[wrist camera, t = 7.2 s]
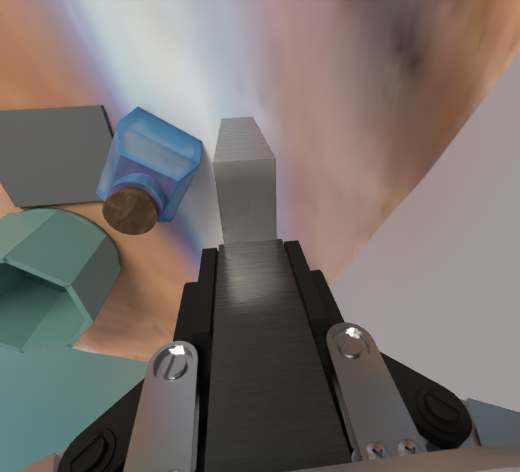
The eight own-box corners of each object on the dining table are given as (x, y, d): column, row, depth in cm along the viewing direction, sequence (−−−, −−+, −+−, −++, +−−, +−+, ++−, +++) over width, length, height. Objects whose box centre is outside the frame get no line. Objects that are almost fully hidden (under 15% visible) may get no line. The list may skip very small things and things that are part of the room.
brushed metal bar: (255, 116, 17) (501, 506, 2) (261, 235, 22) (337, 618, 6) (218, 118, 17) (96, 572, 1) (232, 237, 21) (238, 636, 6)
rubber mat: (102, 105, 24) (100, 106, 23) (133, 196, 28) (132, 198, 28) (-39, 113, 23) (-43, 114, 22) (18, 205, 28) (15, 207, 27)
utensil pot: (98, 202, 28) (51, 252, 21) (133, 284, 35) (106, 343, 28) (-21, 211, 28) (-113, 266, 20) (38, 293, 35) (-15, 356, 27)
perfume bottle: (177, 191, 29) (161, 263, 19) (117, 165, 26) (63, 233, 16) (201, 141, 26) (197, 195, 16) (137, 106, 23) (87, 146, 14)
